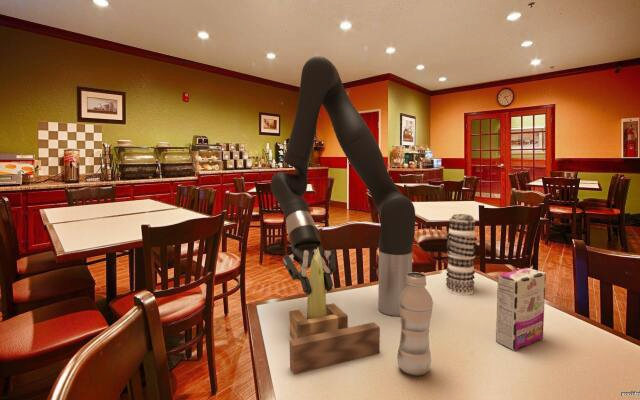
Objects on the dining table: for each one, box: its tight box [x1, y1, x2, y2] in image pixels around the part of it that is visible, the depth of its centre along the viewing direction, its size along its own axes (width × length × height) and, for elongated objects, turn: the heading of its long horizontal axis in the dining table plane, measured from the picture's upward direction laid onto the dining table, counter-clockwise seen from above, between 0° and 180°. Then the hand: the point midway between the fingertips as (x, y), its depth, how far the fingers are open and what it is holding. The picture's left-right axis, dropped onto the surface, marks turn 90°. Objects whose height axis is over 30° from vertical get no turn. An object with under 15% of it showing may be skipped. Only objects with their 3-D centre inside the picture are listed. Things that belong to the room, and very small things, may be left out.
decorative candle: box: [445, 213, 478, 296], centre depth 111 cm, size 9×9×25 cm
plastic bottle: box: [396, 271, 434, 376], centre depth 69 cm, size 6×7×20 cm
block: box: [288, 303, 349, 340], centre depth 83 cm, size 12×8×6 cm, turn 112°
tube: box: [306, 248, 327, 319], centre depth 83 cm, size 6×5×20 cm
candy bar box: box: [495, 267, 547, 352], centre depth 80 cm, size 11×5×16 cm, turn 117°
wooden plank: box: [288, 322, 381, 375], centre depth 73 cm, size 20×2×6 cm, turn 112°
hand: (319, 291), depth 81 cm, fingers closed on tube, 4 cm apart
